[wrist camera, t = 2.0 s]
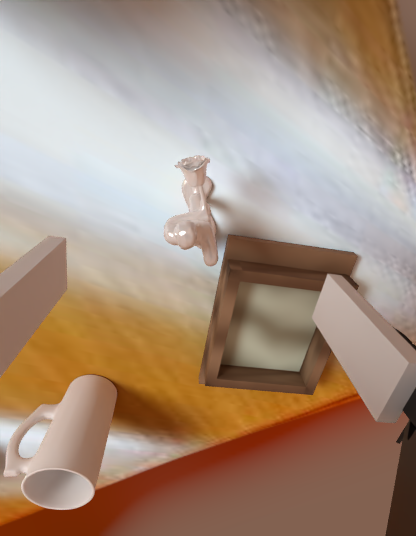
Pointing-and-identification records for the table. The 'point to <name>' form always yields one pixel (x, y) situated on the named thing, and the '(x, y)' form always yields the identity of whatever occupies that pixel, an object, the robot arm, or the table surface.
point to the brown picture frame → (270, 316)
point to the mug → (66, 445)
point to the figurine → (194, 212)
